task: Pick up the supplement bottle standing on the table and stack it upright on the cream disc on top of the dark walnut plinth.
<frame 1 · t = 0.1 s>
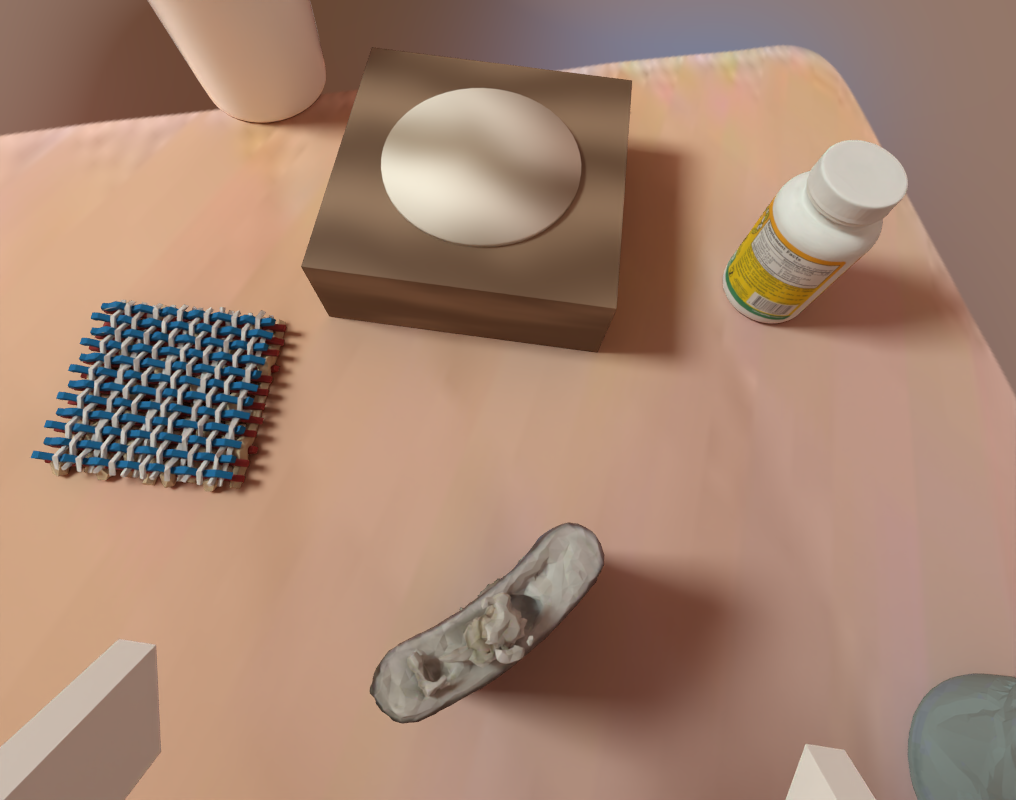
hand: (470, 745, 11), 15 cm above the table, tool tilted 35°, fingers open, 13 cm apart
walnut plinth: (482, 224, 34), on the table
supplement bottle: (761, 290, 33), on the table
green cylinder: (998, 782, 24), on the table
woven mat: (184, 398, 30), on the table
flask: (493, 615, 26), on the table
candle holder: (269, 83, 38), on the table
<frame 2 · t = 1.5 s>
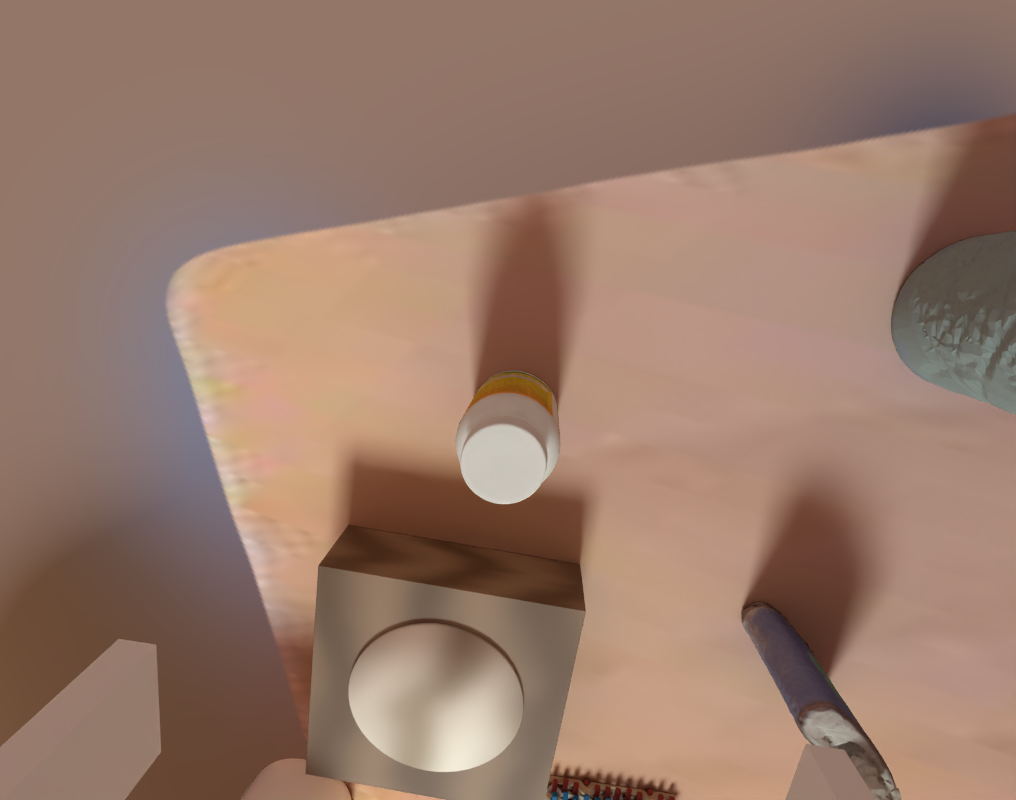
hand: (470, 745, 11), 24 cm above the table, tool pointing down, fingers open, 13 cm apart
walnut plinth: (449, 642, 38), on the table
supplement bottle: (514, 408, 34), on the table
green cylinder: (970, 312, 30), on the table
flask: (783, 648, 37), on the table
candle holder: (304, 795, 43), on the table
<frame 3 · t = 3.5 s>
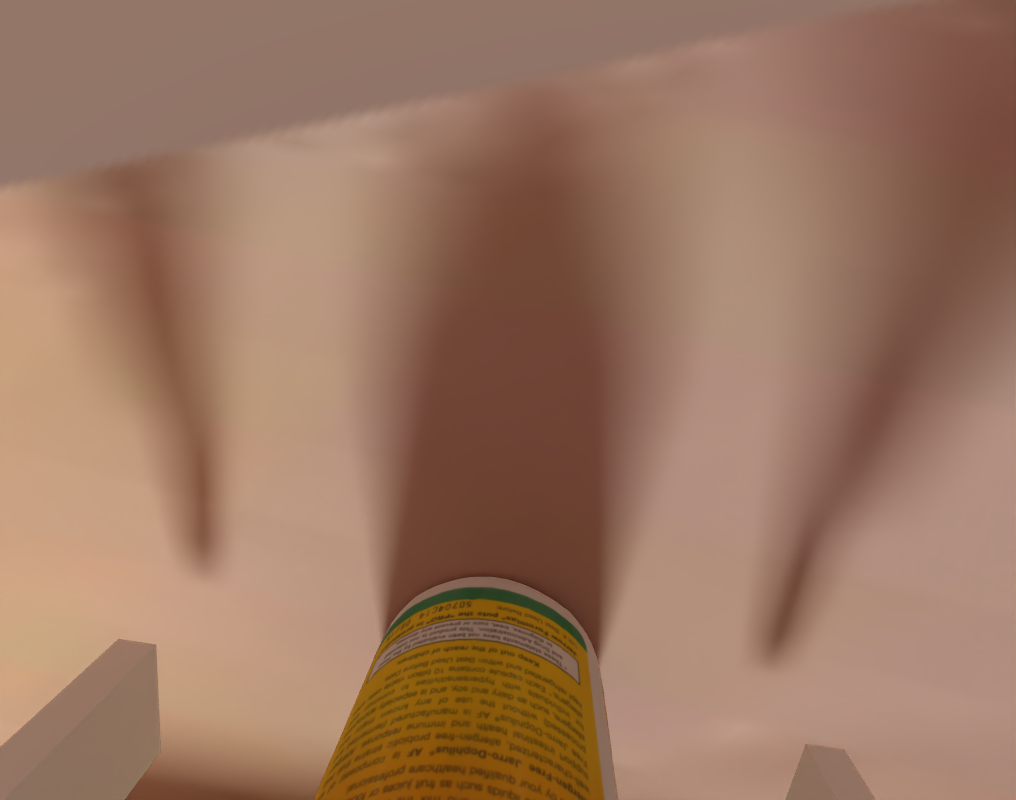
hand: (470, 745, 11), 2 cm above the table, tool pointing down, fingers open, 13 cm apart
supplement bottle: (488, 656, 13), on the table
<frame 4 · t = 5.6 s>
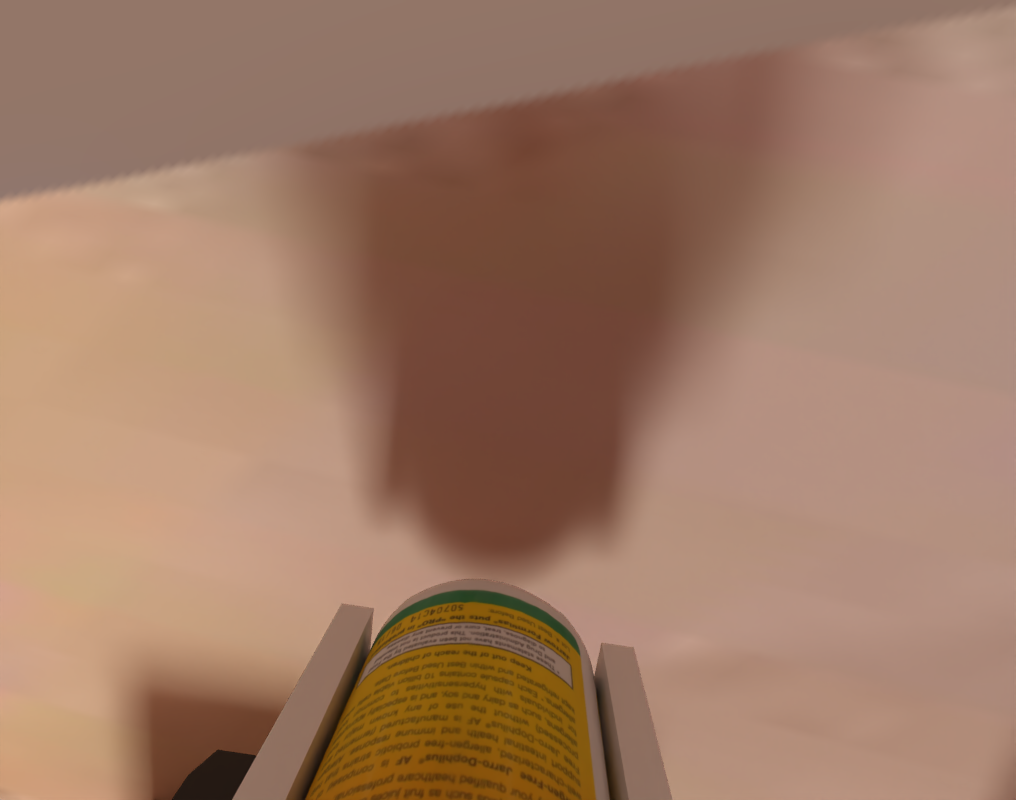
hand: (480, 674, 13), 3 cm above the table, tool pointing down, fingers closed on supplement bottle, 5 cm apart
supplement bottle: (481, 659, 13), point 3 cm above the table, touching gripper
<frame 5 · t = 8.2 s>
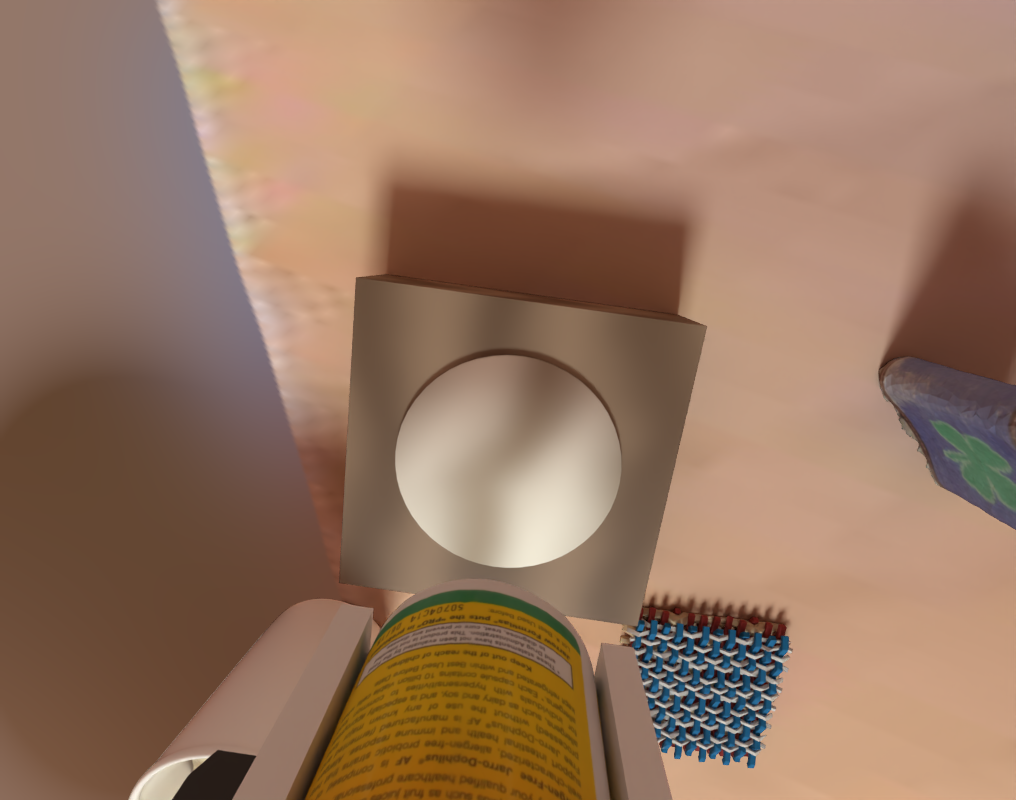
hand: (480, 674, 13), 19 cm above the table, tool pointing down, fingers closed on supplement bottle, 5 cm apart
walnut plinth: (511, 433, 31), on the table
supplement bottle: (481, 659, 13), point 18 cm above the table, touching gripper
woven mat: (689, 670, 35), on the table
flask: (926, 422, 30), on the table
candle holder: (331, 648, 36), on the table
when the fingers open (7 cm above the table, at t = 11.1 s): supplement bottle drops 1 cm, resting on walnut plinth.
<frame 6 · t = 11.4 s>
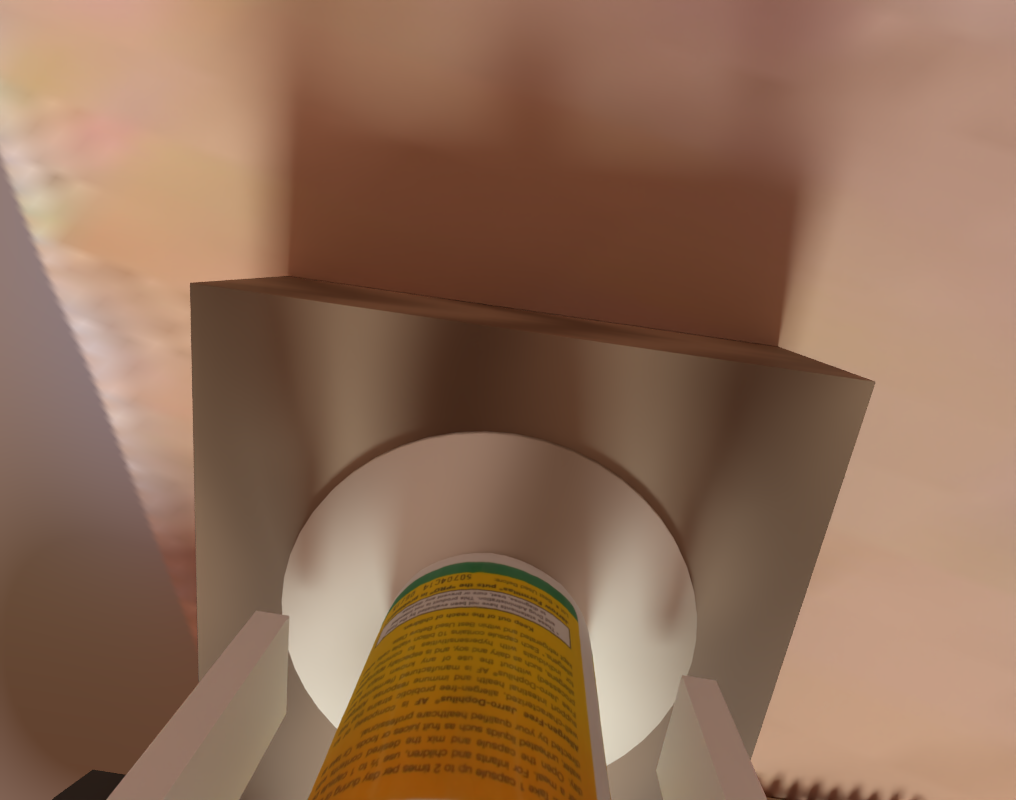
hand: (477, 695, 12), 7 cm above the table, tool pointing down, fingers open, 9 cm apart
walnut plinth: (498, 532, 19), on the table
supplement bottle: (487, 628, 14), point 5 cm above the table, touching walnut plinth
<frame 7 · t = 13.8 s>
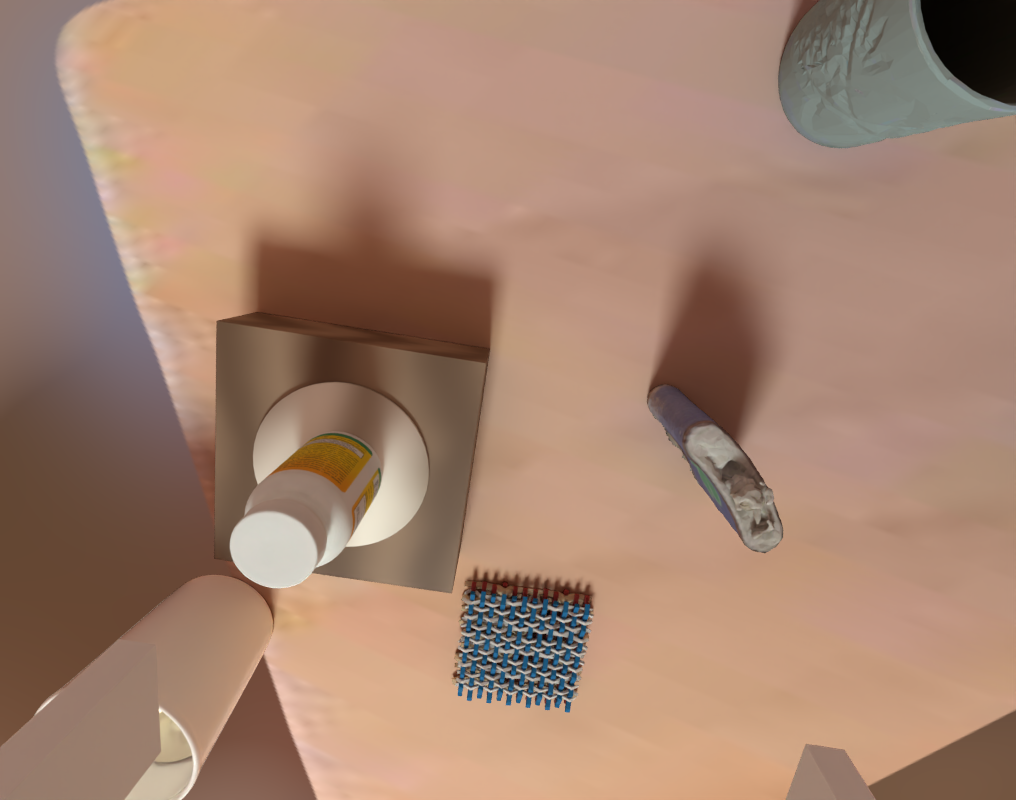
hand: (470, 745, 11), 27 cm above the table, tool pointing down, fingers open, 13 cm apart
walnut plinth: (364, 439, 38), on the table
supplement bottle: (342, 467, 33), point 5 cm above the table, touching walnut plinth
green cylinder: (851, 72, 32), on the table
woven mat: (521, 633, 43), on the table
flask: (688, 435, 38), on the table
candle holder: (224, 616, 43), on the table
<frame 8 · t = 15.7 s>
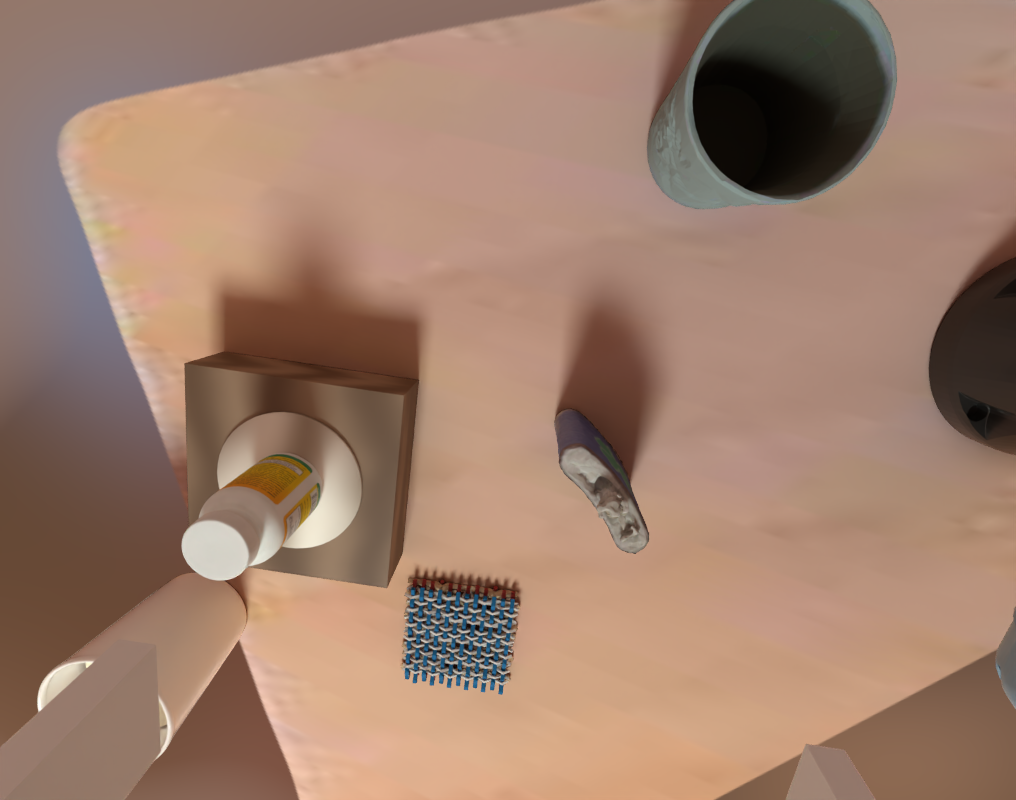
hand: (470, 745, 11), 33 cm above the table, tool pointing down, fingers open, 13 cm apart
walnut plinth: (317, 457, 45), on the table
supplement bottle: (290, 482, 40), point 5 cm above the table, touching walnut plinth
green cylinder: (710, 145, 37), on the table
woven mat: (461, 625, 49), on the table
flask: (593, 452, 44), on the table
candle holder: (205, 608, 50), on the table
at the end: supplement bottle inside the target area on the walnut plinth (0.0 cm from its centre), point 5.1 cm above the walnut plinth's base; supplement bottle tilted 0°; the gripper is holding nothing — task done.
